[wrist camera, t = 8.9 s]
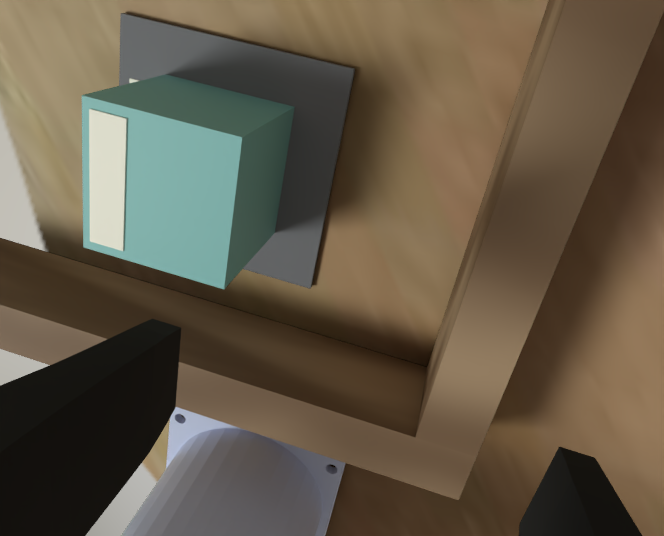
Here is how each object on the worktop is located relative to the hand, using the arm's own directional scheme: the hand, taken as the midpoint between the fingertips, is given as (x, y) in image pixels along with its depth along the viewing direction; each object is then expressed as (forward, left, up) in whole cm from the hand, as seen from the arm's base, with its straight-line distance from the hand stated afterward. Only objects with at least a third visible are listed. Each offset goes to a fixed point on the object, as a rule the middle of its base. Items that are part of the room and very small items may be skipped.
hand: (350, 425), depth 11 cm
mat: (+1, +7, -10) cm, 13 cm away
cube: (+1, +7, -10) cm, 12 cm away
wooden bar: (-6, +7, -10) cm, 14 cm away
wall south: (+2, -3, -10) cm, 11 cm away
